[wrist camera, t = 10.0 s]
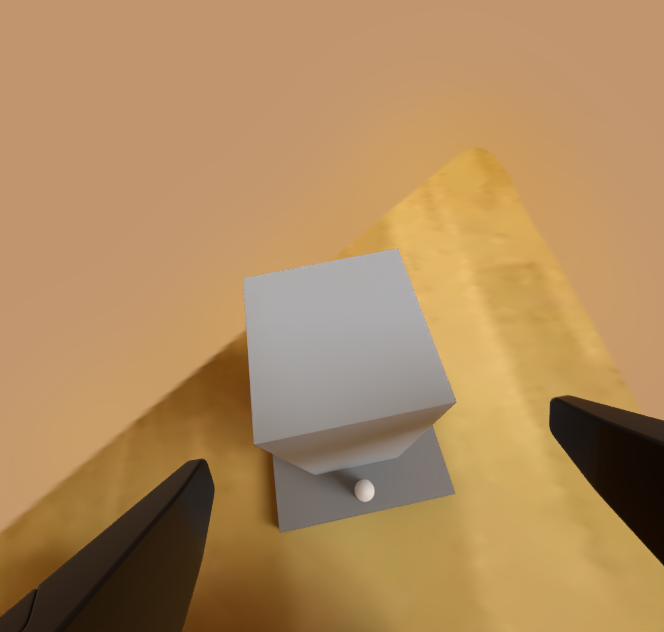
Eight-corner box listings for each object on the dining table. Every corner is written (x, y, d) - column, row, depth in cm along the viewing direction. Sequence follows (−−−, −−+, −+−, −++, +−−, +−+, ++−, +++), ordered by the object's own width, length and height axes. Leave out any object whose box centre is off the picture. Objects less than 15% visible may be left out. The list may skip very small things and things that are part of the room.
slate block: (397, 457, 19) (456, 401, 8) (315, 475, 19) (253, 444, 8) (376, 378, 22) (398, 248, 10) (303, 393, 21) (243, 278, 10)
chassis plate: (450, 493, 19) (468, 493, 16) (283, 531, 19) (268, 538, 16) (401, 342, 24) (407, 319, 21) (267, 369, 24) (254, 350, 20)
